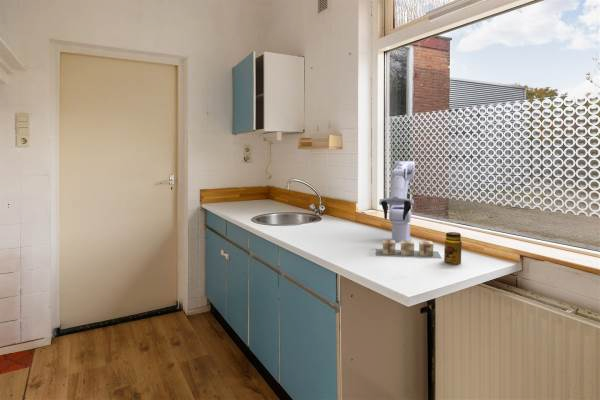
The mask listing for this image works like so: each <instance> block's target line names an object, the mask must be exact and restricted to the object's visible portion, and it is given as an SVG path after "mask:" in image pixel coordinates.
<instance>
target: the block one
mask: <svg viewBox="0 0 600 400" xmlns="http://www.w3.org/2000/svg"><path fill="white" fill-rule="evenodd" d="M382 249H383V254H390V255H395V250H396V242H395V240H390V239H383V240H382Z"/></svg>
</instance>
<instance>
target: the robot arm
mask: <svg viewBox="0 0 600 400" xmlns="http://www.w3.org/2000/svg"><path fill="white" fill-rule="evenodd" d="M393 165H394V167H393V168H394V169H391V174H390V176H391V177H390V183H391V188H390V195H389V196H390V197H386V198H379V201H378V205H379V206H381V207H382V210H383V213H384V214H383V215H384V217H383V218H384V220H387V219H388V221H389V222H390V223H391V239H389V240H395V243H401V240H405V241H413V240H412V238H411V225H410V224H409V223H410V222H411V220H412V206H414V203H415V200H414V199H413V198H408V189H409V185H410V181H412V180H413V179H414V177H415V170H416V169H415V167H416V166H415V165H416V162H415V160H412V161H411V160H409V161H408V160H407V161H406V160H405V161H404V160H402V161H401V160H400V161H399V160H395V162H394V164H393ZM389 205H391V206H390V208H389Z"/></svg>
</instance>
